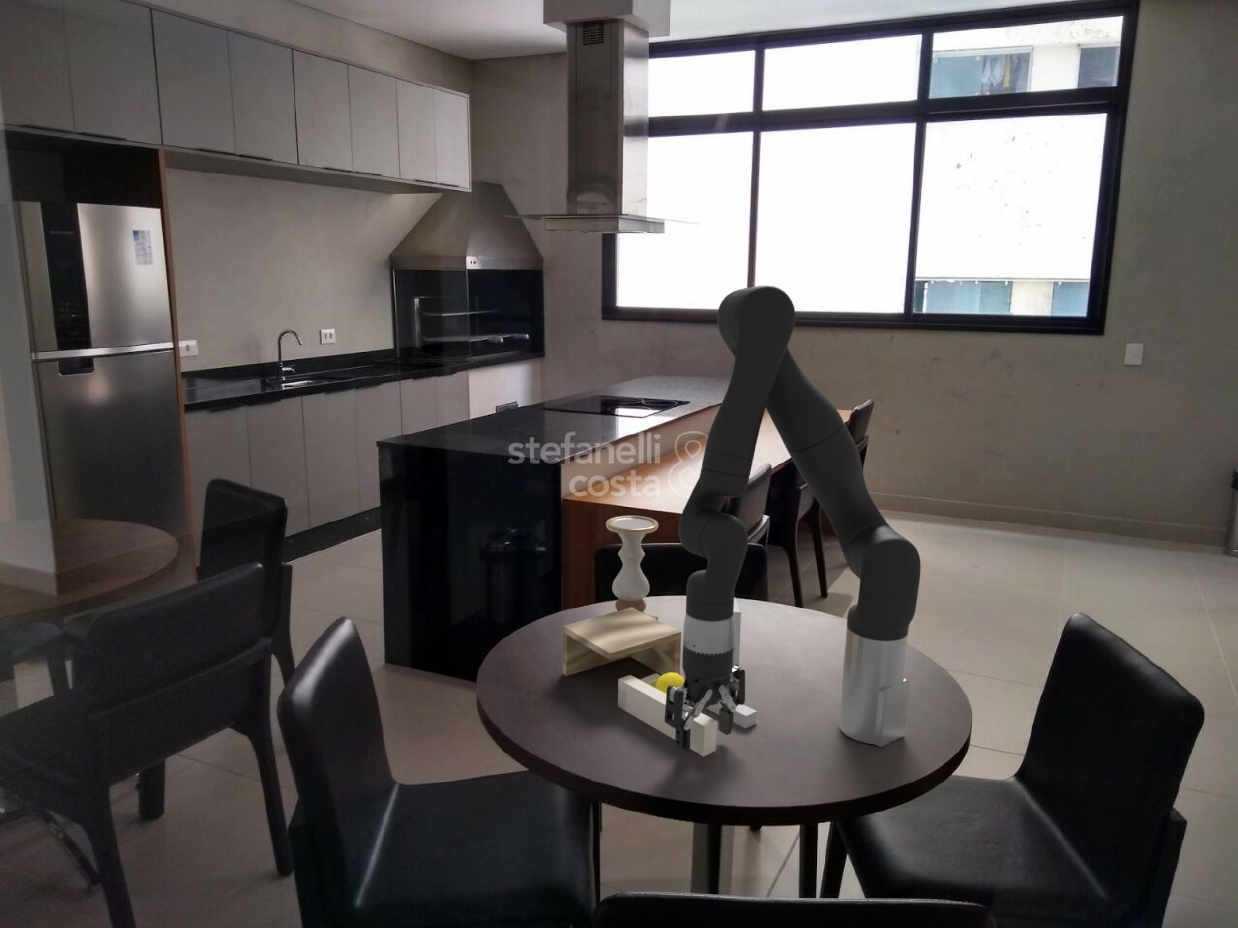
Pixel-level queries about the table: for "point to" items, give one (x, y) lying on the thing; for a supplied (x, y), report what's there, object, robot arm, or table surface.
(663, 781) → the table surface
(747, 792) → the table surface
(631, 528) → the candle holder
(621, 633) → the cubby
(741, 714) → the grey stick
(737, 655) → the small box
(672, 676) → the lemon
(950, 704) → the table surface
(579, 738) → the table surface
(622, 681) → the white bar
